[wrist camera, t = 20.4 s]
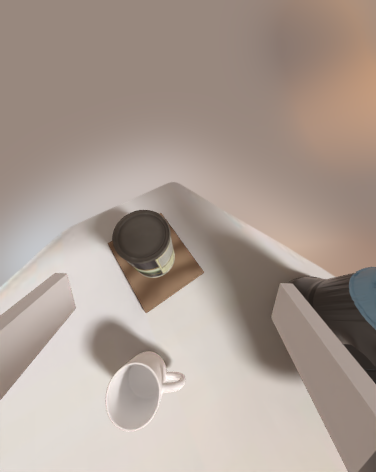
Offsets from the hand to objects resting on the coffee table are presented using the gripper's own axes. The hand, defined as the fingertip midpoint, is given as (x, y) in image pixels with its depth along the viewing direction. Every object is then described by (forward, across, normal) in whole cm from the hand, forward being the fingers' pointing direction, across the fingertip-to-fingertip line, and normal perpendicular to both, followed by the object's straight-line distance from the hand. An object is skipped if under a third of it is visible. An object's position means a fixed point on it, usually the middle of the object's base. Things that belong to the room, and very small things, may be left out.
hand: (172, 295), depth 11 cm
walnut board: (+31, -8, -15) cm, 36 cm away
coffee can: (+31, -8, -14) cm, 35 cm away
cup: (+14, -5, -32) cm, 35 cm away
